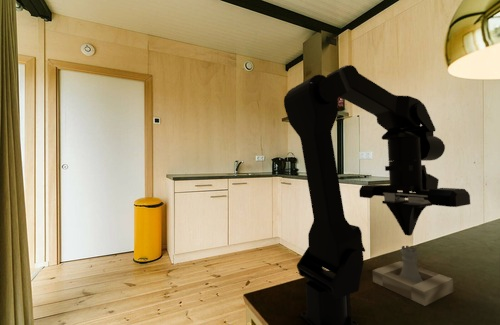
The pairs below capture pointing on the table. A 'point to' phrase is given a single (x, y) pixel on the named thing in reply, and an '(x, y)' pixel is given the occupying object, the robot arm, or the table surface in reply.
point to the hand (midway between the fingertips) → (408, 235)
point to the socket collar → (420, 292)
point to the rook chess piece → (410, 264)
